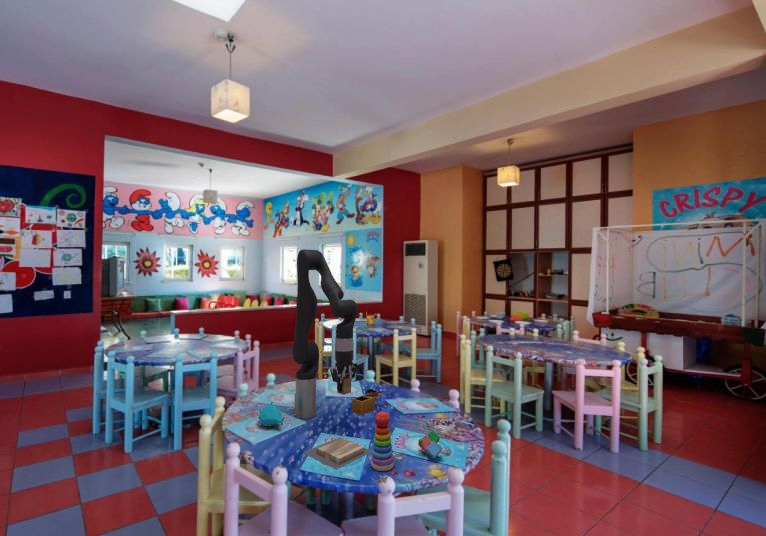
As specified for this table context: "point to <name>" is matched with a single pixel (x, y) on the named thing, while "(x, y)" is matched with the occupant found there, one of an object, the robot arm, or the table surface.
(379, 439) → the stacking toy
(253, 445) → the table surface
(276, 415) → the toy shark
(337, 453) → the tile
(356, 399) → the spider toy trap
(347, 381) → the block
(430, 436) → the building blocks
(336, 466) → the mat
